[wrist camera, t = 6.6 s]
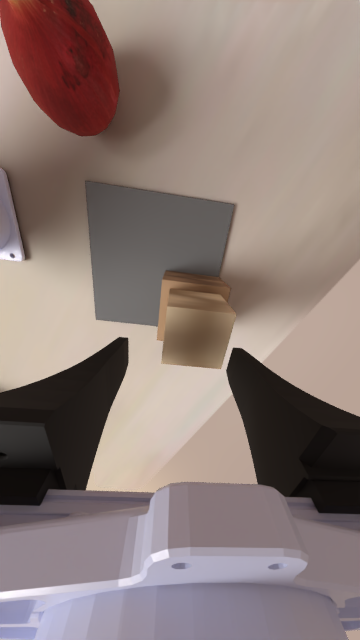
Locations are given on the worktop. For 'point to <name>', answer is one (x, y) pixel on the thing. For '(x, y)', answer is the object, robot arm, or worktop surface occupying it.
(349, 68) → the worktop surface
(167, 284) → the tower top
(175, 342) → the cube
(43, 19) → the red round fruit
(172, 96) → the worktop surface
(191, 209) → the mat
